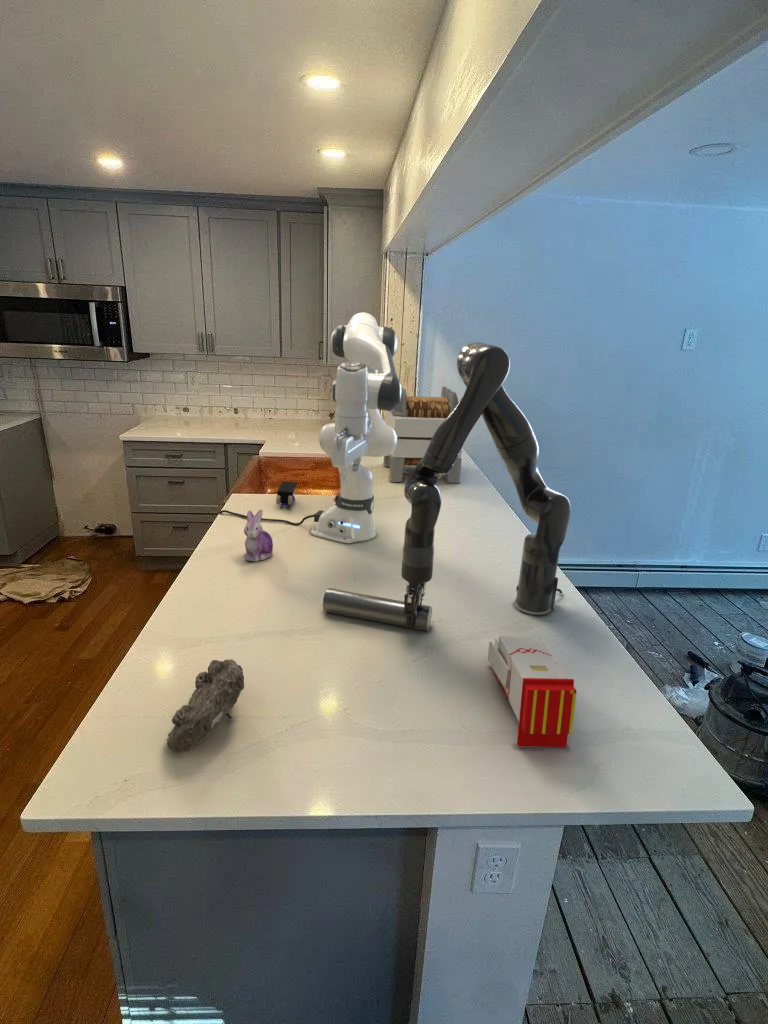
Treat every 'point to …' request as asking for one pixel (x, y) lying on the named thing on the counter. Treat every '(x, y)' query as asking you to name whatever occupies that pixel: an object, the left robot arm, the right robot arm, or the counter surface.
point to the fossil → (206, 705)
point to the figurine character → (286, 494)
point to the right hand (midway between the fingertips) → (413, 620)
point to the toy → (534, 690)
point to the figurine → (257, 538)
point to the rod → (373, 608)
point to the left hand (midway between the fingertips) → (350, 475)
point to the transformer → (419, 431)
